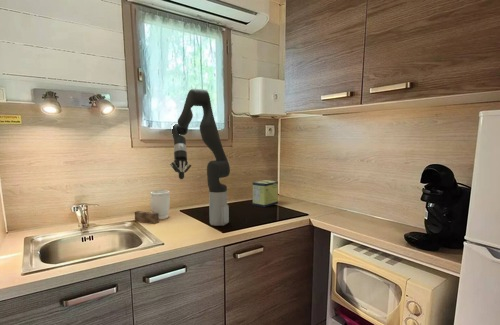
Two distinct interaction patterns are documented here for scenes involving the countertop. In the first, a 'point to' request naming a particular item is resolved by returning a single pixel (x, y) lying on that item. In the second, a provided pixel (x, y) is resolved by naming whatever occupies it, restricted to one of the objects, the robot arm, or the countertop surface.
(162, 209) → the jar
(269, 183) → the protein box
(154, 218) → the bar
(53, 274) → the countertop surface
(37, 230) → the countertop surface
